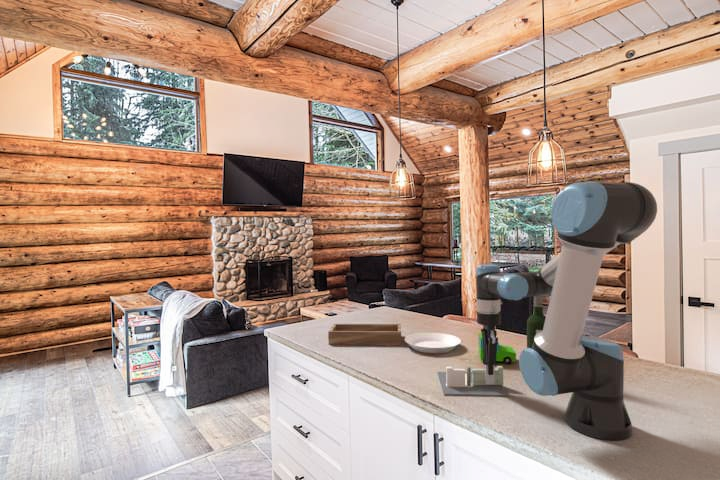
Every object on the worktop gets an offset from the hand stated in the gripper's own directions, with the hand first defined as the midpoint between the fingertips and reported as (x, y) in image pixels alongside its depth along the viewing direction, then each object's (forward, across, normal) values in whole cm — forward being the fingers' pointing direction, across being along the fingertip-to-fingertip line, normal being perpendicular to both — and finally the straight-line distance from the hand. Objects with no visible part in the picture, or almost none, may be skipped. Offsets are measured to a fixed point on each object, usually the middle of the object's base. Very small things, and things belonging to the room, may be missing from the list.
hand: (489, 383), depth 131 cm
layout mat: (+2, +5, +5) cm, 8 cm away
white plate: (+2, +48, +14) cm, 50 cm away
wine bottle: (+2, +15, -21) cm, 25 cm away
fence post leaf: (+2, +2, +10) cm, 10 cm away
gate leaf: (+1, +2, 0) cm, 3 cm away
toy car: (+2, +30, -10) cm, 31 cm away
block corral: (+1, +59, +45) cm, 74 cm away
